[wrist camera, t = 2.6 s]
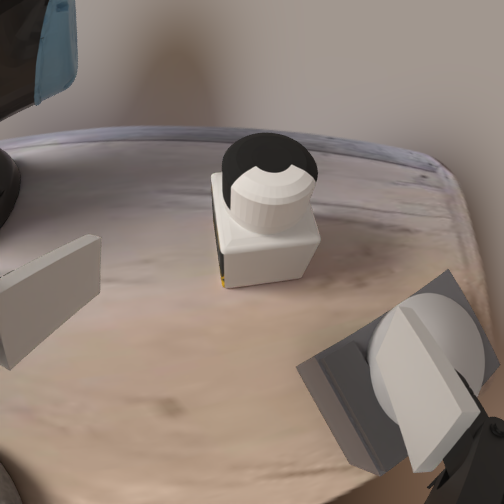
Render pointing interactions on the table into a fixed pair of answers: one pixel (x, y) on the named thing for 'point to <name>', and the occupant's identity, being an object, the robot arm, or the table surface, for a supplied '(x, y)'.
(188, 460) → the table surface
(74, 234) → the table surface
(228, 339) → the table surface
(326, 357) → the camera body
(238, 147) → the medicine bottle
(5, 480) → the dish
